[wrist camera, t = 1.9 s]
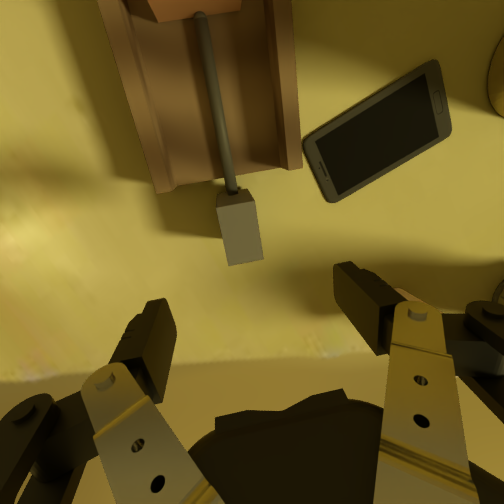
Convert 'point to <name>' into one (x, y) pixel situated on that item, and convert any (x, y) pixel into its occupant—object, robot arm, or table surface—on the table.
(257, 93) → the wooden crate
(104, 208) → the table surface
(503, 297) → the thermos
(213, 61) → the block
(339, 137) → the cell phone
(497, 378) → the robot arm
